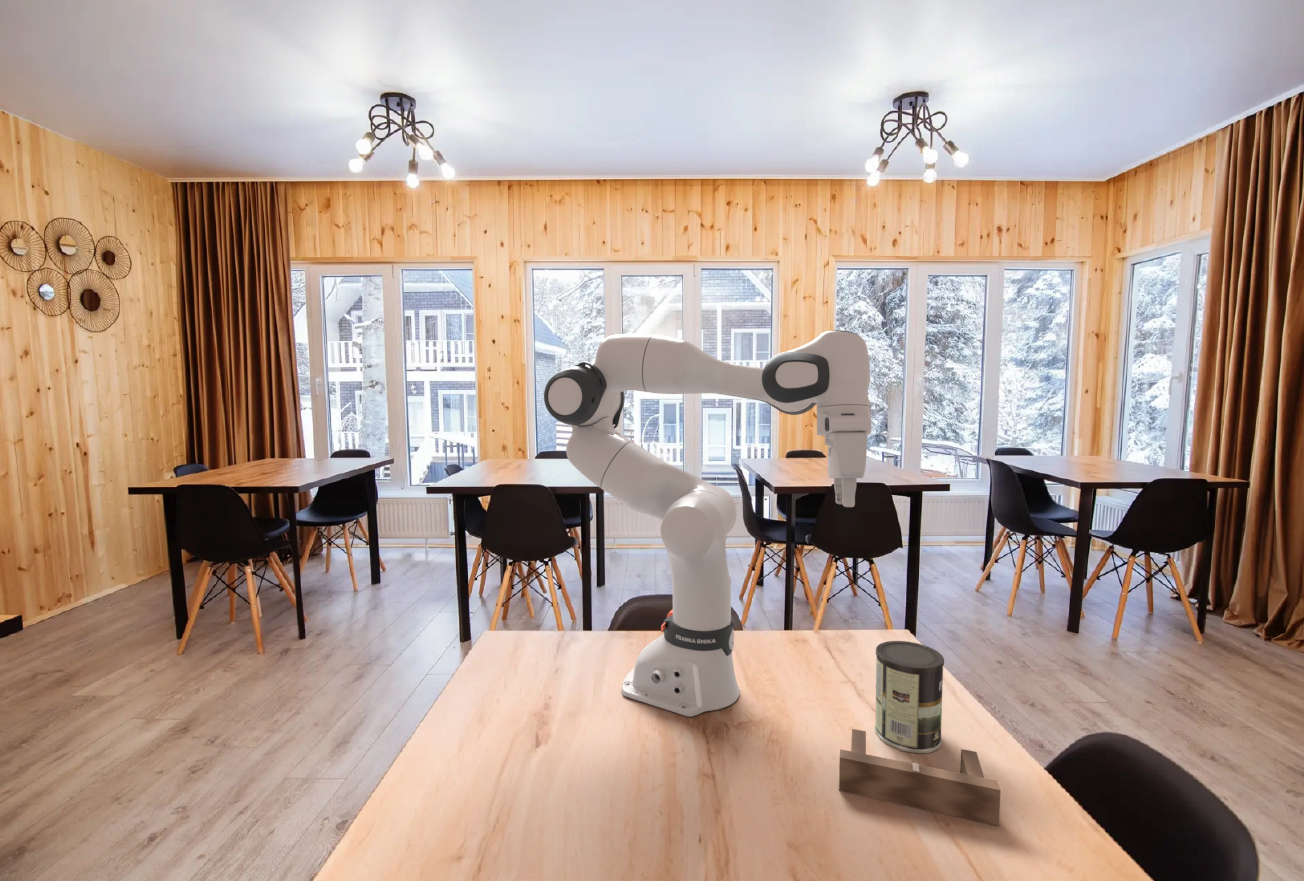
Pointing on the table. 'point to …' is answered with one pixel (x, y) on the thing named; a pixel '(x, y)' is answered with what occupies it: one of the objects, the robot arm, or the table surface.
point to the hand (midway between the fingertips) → (844, 505)
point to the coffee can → (909, 696)
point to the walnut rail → (921, 783)
